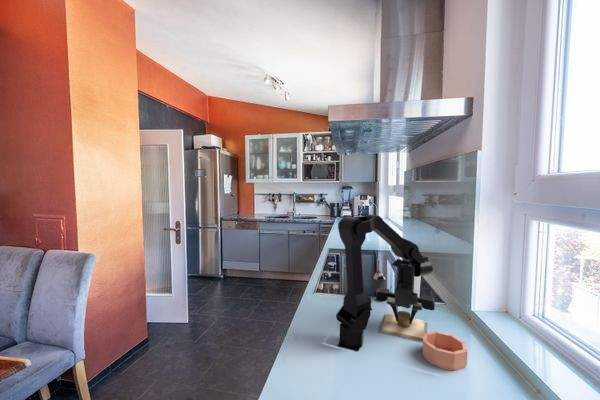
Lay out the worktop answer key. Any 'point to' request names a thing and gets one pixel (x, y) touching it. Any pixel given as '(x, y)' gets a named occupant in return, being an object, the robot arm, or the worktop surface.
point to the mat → (401, 336)
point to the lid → (404, 326)
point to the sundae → (378, 282)
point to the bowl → (444, 350)
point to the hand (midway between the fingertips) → (403, 322)
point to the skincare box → (417, 285)
